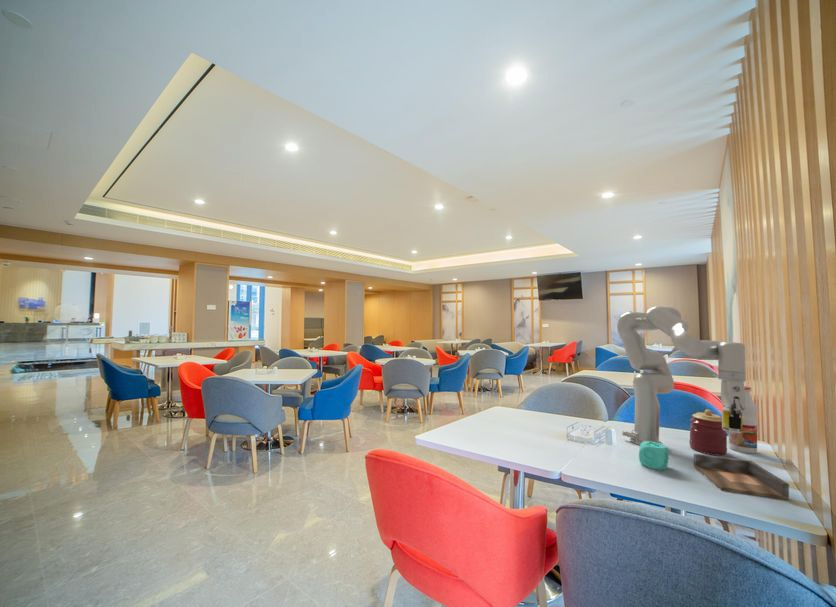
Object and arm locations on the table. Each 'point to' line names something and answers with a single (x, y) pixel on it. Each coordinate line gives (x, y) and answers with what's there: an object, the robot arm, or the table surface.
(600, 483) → the table surface
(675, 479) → the table surface
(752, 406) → the fruit juice
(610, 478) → the table surface
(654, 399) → the robot arm
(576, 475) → the table surface
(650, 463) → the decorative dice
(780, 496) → the wooden tray
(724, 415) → the supplement bottle
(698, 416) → the canister
